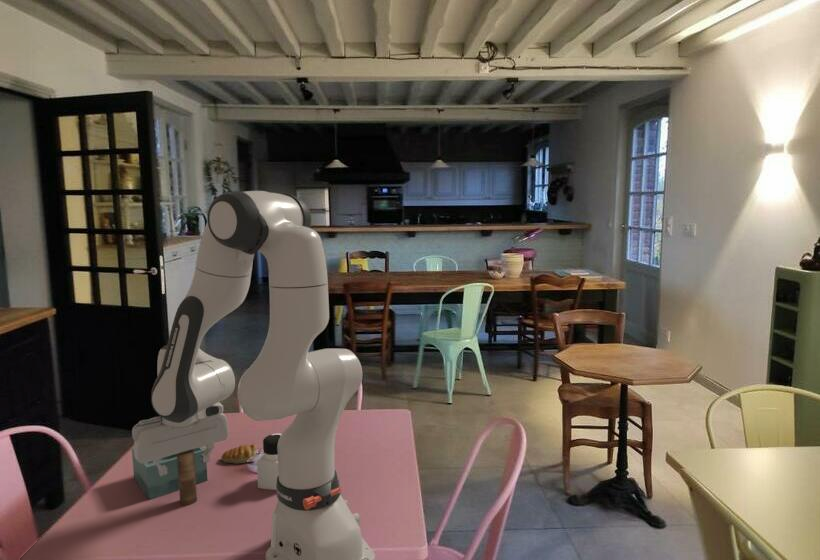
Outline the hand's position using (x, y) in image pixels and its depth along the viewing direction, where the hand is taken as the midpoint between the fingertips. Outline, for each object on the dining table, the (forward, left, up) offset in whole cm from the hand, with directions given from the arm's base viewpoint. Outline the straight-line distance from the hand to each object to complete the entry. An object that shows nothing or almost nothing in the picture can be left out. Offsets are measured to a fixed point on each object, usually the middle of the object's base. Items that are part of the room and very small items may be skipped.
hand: (184, 468), depth 124 cm
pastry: (+12, -19, -8) cm, 23 cm away
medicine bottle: (-7, -20, -8) cm, 22 cm away
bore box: (+13, 0, -8) cm, 15 cm away
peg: (-1, 0, -8) cm, 8 cm away
